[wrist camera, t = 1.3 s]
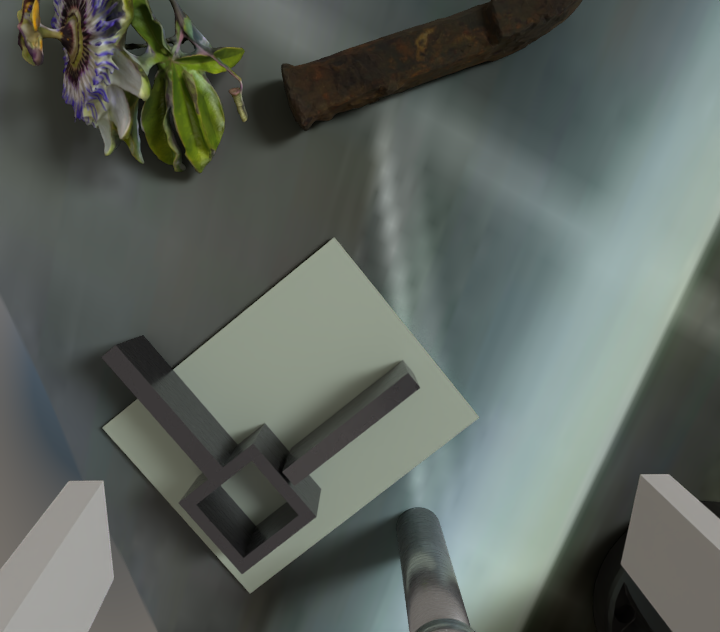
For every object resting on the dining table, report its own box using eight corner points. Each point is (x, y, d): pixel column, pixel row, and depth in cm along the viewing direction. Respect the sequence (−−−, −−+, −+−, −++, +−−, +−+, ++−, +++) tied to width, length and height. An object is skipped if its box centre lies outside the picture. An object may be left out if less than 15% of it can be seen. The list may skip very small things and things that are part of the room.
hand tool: (300, 139, 35) (291, 121, 30) (283, 79, 34) (271, 52, 30) (575, 60, 34) (609, 30, 30) (561, -2, 34) (594, -42, 29)
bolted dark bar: (415, 375, 36) (422, 390, 32) (303, 463, 36) (296, 488, 32) (402, 359, 36) (408, 372, 32) (290, 448, 36) (282, 471, 32)
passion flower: (142, 103, 40) (-1, -58, 29) (271, 50, 37) (164, -145, 27) (132, 220, 34) (-47, 74, 24) (281, 167, 32) (153, -21, 22)
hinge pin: (455, 531, 38) (504, 675, 25) (413, 562, 38) (441, 720, 25) (422, 493, 37) (455, 617, 25) (381, 524, 38) (392, 664, 25)
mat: (477, 415, 37) (479, 417, 36) (251, 589, 38) (249, 593, 38) (334, 237, 35) (334, 237, 35) (105, 425, 37) (102, 427, 36)
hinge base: (321, 489, 37) (316, 517, 33) (254, 540, 37) (241, 574, 33) (170, 312, 35) (146, 319, 32) (103, 368, 36) (71, 382, 32)
